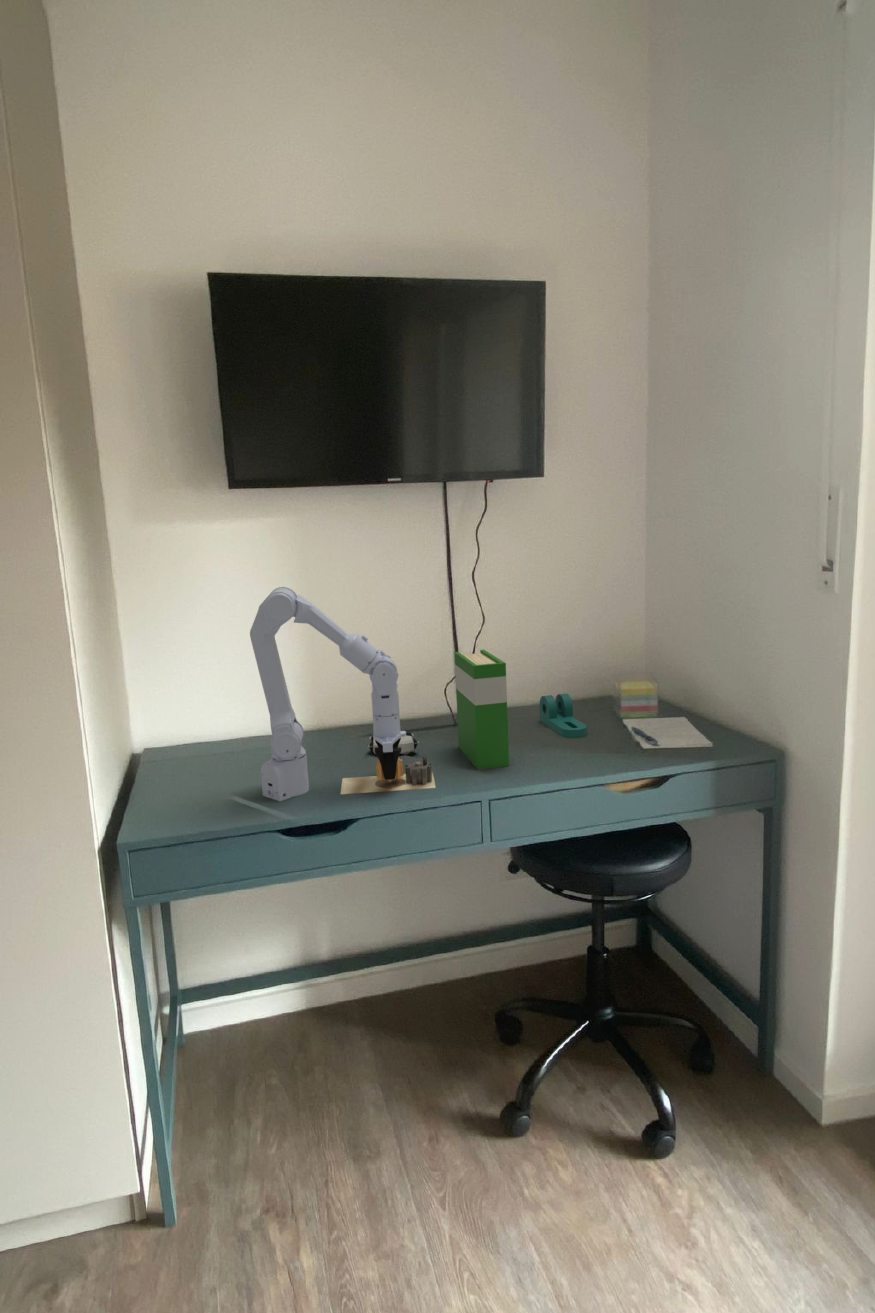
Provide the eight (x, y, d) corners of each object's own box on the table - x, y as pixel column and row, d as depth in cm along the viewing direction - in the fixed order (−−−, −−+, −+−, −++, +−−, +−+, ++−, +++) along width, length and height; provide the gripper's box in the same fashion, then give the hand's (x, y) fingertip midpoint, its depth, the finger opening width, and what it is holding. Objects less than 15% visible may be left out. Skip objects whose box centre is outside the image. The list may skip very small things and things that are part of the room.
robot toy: (367, 748, 208) (368, 762, 193) (366, 730, 208) (367, 743, 193) (415, 744, 209) (420, 758, 195) (414, 727, 209) (419, 739, 194)
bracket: (539, 721, 222) (539, 693, 220) (563, 719, 223) (562, 691, 222) (566, 739, 205) (565, 709, 203) (591, 736, 206) (590, 706, 205)
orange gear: (390, 782, 172) (389, 766, 172) (371, 777, 176) (370, 762, 175) (408, 775, 176) (407, 759, 176) (389, 770, 180) (388, 755, 179)
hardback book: (458, 747, 202) (454, 652, 198) (487, 744, 204) (483, 649, 199) (477, 769, 185) (473, 666, 181) (509, 765, 187) (505, 663, 182)
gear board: (340, 798, 171) (338, 771, 170) (342, 782, 181) (341, 756, 180) (435, 792, 172) (434, 764, 171) (433, 776, 182) (431, 750, 181)
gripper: (405, 721, 167) (409, 784, 169) (403, 703, 181) (407, 762, 183) (371, 723, 166) (375, 786, 169) (372, 705, 180) (375, 764, 183)
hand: (389, 774), depth 176 cm, fingers closed on orange gear, 5 cm apart
